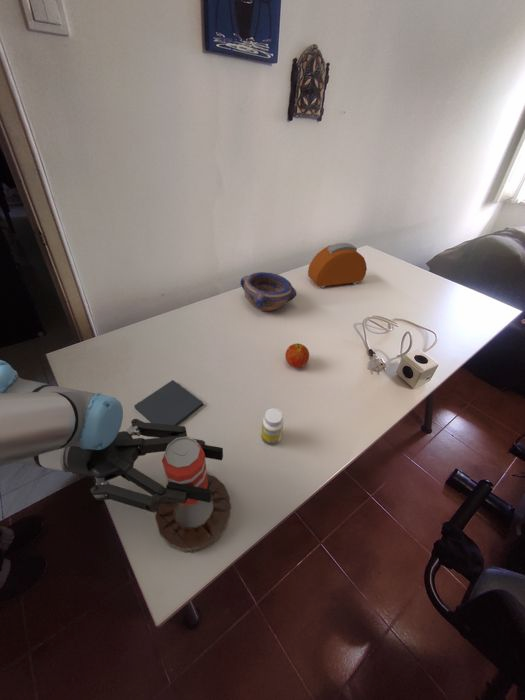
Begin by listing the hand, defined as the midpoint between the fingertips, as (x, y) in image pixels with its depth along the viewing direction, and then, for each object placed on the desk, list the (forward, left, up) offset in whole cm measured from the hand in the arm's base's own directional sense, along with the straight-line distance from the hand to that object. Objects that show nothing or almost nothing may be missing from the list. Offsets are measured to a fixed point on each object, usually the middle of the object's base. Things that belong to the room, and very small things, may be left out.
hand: (216, 474), depth 49 cm
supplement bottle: (+20, +3, -16) cm, 26 cm away
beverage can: (-3, +4, -7) cm, 9 cm away
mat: (+10, +28, -16) cm, 34 cm away
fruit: (+45, +13, -16) cm, 50 cm away
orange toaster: (+100, +30, -16) cm, 106 cm away
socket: (-3, +4, -16) cm, 17 cm away
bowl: (+65, +40, -16) cm, 78 cm away
